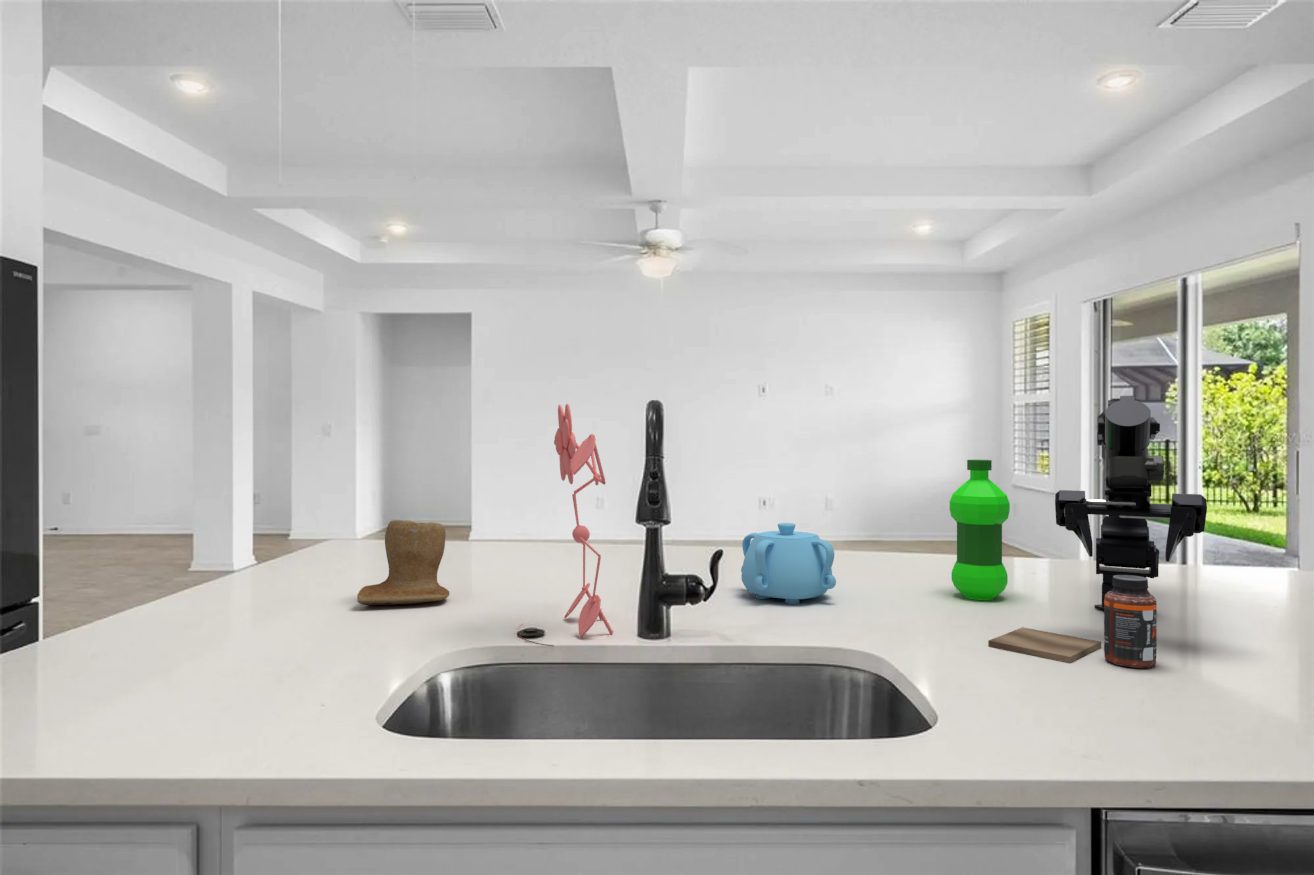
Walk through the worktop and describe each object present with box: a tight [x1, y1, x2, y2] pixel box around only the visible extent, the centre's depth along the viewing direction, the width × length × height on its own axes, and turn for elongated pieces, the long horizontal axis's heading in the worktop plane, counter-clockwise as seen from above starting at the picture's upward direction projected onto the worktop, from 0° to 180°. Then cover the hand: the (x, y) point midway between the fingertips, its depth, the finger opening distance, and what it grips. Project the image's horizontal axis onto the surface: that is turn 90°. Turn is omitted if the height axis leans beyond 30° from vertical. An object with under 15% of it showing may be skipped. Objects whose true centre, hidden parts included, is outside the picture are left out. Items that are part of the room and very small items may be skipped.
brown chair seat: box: [356, 519, 451, 606], centre depth 144 cm, size 15×12×15 cm
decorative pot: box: [740, 522, 837, 605], centre depth 147 cm, size 16×16×14 cm
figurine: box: [513, 403, 614, 647], centre depth 124 cm, size 15×26×35 cm, turn 13°
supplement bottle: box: [1103, 575, 1158, 669], centre depth 105 cm, size 6×6×11 cm
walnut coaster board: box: [987, 626, 1102, 664], centre depth 113 cm, size 11×11×1 cm
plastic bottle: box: [949, 459, 1011, 601], centre depth 146 cm, size 10×10×25 cm
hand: (1128, 557), depth 111 cm, fingers open, 9 cm apart
